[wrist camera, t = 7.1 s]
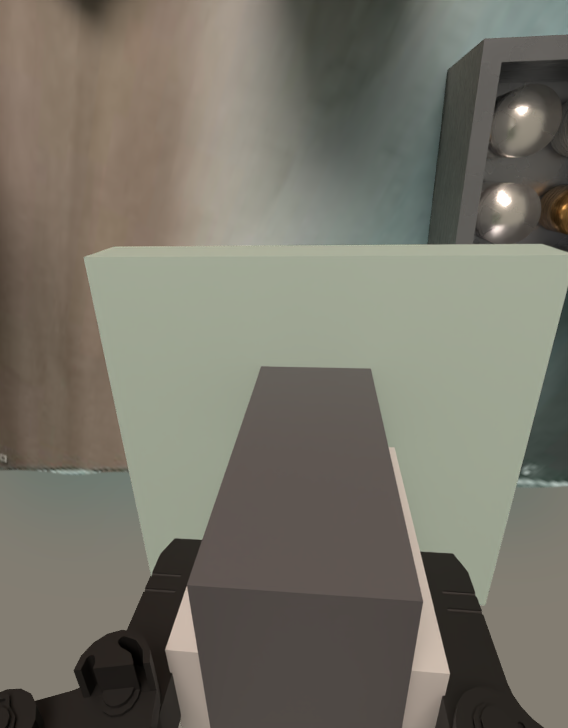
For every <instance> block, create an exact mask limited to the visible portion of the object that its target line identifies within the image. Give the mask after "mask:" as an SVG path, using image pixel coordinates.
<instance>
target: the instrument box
mask: <svg viewBox="0 0 568 728" xmlns="http://www.w3.org/2000/svg"><path fill="white" fill-rule="evenodd" d="M442 244H544V245H547V246H550V247H553V248H556V249H559V250H562V251H565V252H568V35H551V36H531V37H511V38H491V39H484V40H483V41H481V42H480V43H479V44H478V45H477V46H475V47H474V48H473V49H472V50H471V51H470V52H468V53H467V54H466V55H465V56H464V57H462V58H461V59H460V60H459V61H458V62H457V63H455V64H454V65H453V66H452V67H451V68H449V69H448V73H447V81H446V90H445V98H444V107H443V116H442V124H441V133H440V141H439V150H438V159H437V167H436V176H435V185H434V193H433V202H432V210H431V219H430V228H429V236H428V245H442Z"/></svg>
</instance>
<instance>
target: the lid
mask: <svg viewBox="0 0 568 728" xmlns="http://www.w3.org/2000/svg"><path fill="white" fill-rule="evenodd" d="M84 261H85V266H86V271H87V276H88V280H89V285H90V290H91V294H92V299H93V304H94V309H95V313H96V318H97V323H98V327H99V332H100V337H101V342H102V346H103V351H104V356H105V361H106V365H107V370H108V375H109V379H110V384H111V389H112V394H113V398H114V403H115V408H116V412H117V417H118V422H119V427H120V431H121V436H122V441H123V445H124V450H125V455H126V460H127V464H128V469H129V474H130V479H131V483H132V488H133V493H134V497H135V502H136V506H137V511H138V516H139V520H140V525H141V530H142V535H143V539H144V545H145V549H146V554H147V559H148V564H149V568H150V573H151V576H152V572H153V569H154V567H155V565H156V562H157V560H158V558H159V556H160V554H161V552H162V551H163V550H164V549H165V548H166V547H167V546H168V545H169V544H170V543H171V542H172V541H173V540H174V539H175V538H180V539H197V540H202V542H201V545H200V548H199V551H198V554H197V557H196V560H195V562H194V565H193V568H192V571H191V574H190V577H189V580H188V583H187V589H188V595H189V601H190V607H191V614H192V620H193V626H194V632H195V638H196V644H197V650H198V656H199V662H200V668H201V674H202V680H203V686H204V692H205V699H206V705H207V711H208V717H209V723H210V728H402V724H403V718H404V712H405V707H406V701H407V695H408V689H409V683H410V677H411V671H412V665H413V659H414V653H415V647H416V641H417V635H418V630H419V624H420V618H421V612H422V606H423V598H422V594H421V589H420V585H419V580H418V576H417V572H416V567H415V563H414V558H413V554H412V549H411V545H410V540H409V536H408V532H407V527H406V523H405V518H404V514H403V509H402V505H401V500H400V496H399V491H398V487H397V483H396V478H395V474H394V469H393V465H392V460H391V456H390V451H389V447H395V451H396V456H397V460H398V464H399V468H400V472H401V476H402V480H403V484H404V488H405V492H406V496H407V500H408V504H409V509H410V513H411V517H412V521H413V525H414V529H415V533H416V537H417V541H418V545H419V549H420V551H421V552H437V553H453V554H454V555H455V556H456V558H457V559H458V560H459V561H460V563H461V564H462V565H463V566H464V567H465V569H466V570H467V571H468V573H469V576H470V579H471V582H472V584H473V587H474V590H475V595H476V597H477V599H478V601H479V604H480V605H486V601H487V597H488V593H489V589H490V585H491V581H492V578H493V574H494V570H495V566H496V562H497V558H498V555H499V551H500V547H501V543H502V539H503V535H504V531H505V527H506V523H507V520H508V516H509V512H510V508H511V504H512V500H513V497H514V493H515V489H516V485H517V481H518V477H519V473H520V470H521V466H522V462H523V458H524V454H525V450H526V446H527V442H528V439H529V435H530V431H531V427H532V423H533V419H534V415H535V412H536V408H537V404H538V400H539V396H540V392H541V388H542V385H543V381H544V377H545V373H546V369H547V365H548V361H549V357H550V354H551V350H552V346H553V342H554V338H555V334H556V330H557V327H558V323H559V319H560V315H561V311H562V307H563V303H564V300H565V296H566V292H567V288H568V252H565V251H562V250H559V249H556V248H553V247H550V246H547V245H544V244H442V245H290V246H138V247H112V248H109V249H106V250H103V251H100V252H97V253H94V254H91V255H88V256H86V257H84Z"/></svg>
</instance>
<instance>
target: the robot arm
mask: <svg viewBox="0 0 568 728" xmlns="http://www.w3.org/2000/svg"><path fill="white" fill-rule="evenodd" d="M389 451H390V456H391V460H392V465H393V469H394V474H395V478H396V483H397V487H398V491H399V496H400V500H401V505H402V509H403V514H404V518H405V523H406V527H407V532H408V536H409V540H410V545H411V549H412V554H413V558H414V563H415V567H416V572H417V576H418V580H419V585H420V589H421V594H422V598H423V606H422V612H421V618H420V624H419V630H418V635H417V641H416V647H415V653H414V659H413V665H412V671H411V677H410V683H409V689H408V695H407V701H406V707H405V712H404V718H403V724H402V728H543V727H542V726H541V725H540V724H538V723H537V722H536V721H534V720H533V719H532V718H531V717H530V716H529V715H528V714H527V713H526V712H525V710H524V709H523V708H522V707H521V706H520V705H519V703H518V702H517V700H516V699H515V697H514V696H513V694H512V692H511V690H510V688H509V686H508V684H507V681H506V678H505V675H504V672H503V670H502V667H501V664H500V661H499V658H498V655H497V652H496V650H495V647H494V644H493V641H492V639H491V635H490V633H489V630H488V627H487V625H486V621H485V619H484V616H483V615H482V612H481V611H482V610H481V608H480V604H479V601H478V599H477V597H476V595H475V590H474V587H473V584H472V582H471V579H470V576H469V573H468V571H467V570H466V569H465V567H464V566H463V565H462V564H461V563H460V561H459V560H458V559H457V558H456V556H455V555H454V554H453V553H437V552H421V551H420V549H419V545H418V541H417V537H416V533H415V529H414V525H413V521H412V517H411V513H410V509H409V504H408V500H407V496H406V492H405V488H404V484H403V480H402V476H401V472H400V468H399V464H398V460H397V456H396V451H395V447H389ZM201 542H202V540H197V539H180V538H175V539H174V540H173V541H172V542H171V543H170V544H169V545H168V546H167V547H166V548H165V549H164V550H163V551H162V552H161V554H160V556H159V558H158V560H157V562H156V565H155V567H154V569H153V572H152V576H150V578H149V581H148V583H147V585H146V588H145V592H143V594H142V597H141V599H140V601H139V604H138V606H137V608H136V610H135V613H134V615H133V617H132V620H131V622H130V624H129V626H128V629H127V630H126V631H125V630H120V631H116V632H113V633H109V634H107V635H105V636H104V637H102V638H100V639H99V640H97V641H95V642H94V643H93V644H92V645H91V646H90V647H89V648H88V649H87V650H86V651H85V652H84V653H83V654H82V655H81V657H80V659H79V661H78V663H77V665H76V667H75V669H74V673H75V675H76V678H77V681H78V684H79V686H80V688H78V689H76V690H73V691H70V692H66V693H62V694H59V695H55V696H52V697H48V698H44V699H41V700H37V701H34V699H33V697H32V695H31V694H30V693H28V692H26V691H24V690H22V689H9V690H5V691H2V692H0V728H178V726H179V722H180V721H181V726H182V728H210V723H209V717H208V711H207V705H206V699H205V692H204V686H203V680H202V674H201V668H200V662H199V656H198V650H197V644H196V638H195V632H194V626H193V620H192V614H191V607H190V601H189V595H188V589H187V583H188V580H189V577H190V574H191V571H192V568H193V565H194V562H195V560H196V557H197V554H198V551H199V548H200V545H201Z"/></svg>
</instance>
